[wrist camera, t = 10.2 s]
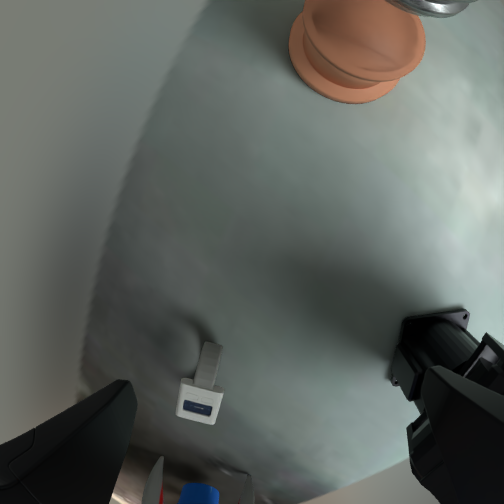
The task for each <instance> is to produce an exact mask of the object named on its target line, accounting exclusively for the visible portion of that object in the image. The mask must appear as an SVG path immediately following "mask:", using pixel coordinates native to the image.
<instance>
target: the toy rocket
mask: <svg viewBox="0 0 504 504" xmlns="http://www.w3.org/2000/svg"><path fill="white" fill-rule="evenodd" d="M163 461H164V456H160V458H159V459H158V461H157V462H156V464H155V465H154V467H153V469H152V471H151V473H150V475H149V477H148V480H147V482H146V485H145V489H144V492H143V497H142V504H165V503H164V497H163ZM218 501H219V492H218V491H217V490H216V489H215V488H213V487H212V486H209V485H206V484H202V483H188V484H185V485H184V486H183V488H182V492H181V495H180V499H179V502H178V503H177V504H218ZM238 504H254V489H253V484H252V479H251V475H247V479H246V482H245V486H244V489H243V492H242V495H241V497H240V500H239V502H238Z"/></svg>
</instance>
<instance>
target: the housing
mask: <svg viewBox="0 0 504 504" xmlns="http://www.w3.org/2000/svg"><path fill="white" fill-rule="evenodd" d="M425 43H426V41H425V33H424V29H423V26H422V23H421V21H420V19H419V17H418V16H417V15H413V14H410V13H407V12H405V11H402V10H400V9H398V8H396V7H394V6H393V5H391V4H389V3H388V2H386V1H385V0H305V3H304V8H303V11H302V12H301V13H300V14H299V15H298V16H297V18H296V20H295V21H294V23H293V25H292V28H291V32H290V37H289V45H288V47H289V55H290V59H291V62H292V64H293V66H294V68H295V70H296V72H297V73H298V75H299V76H300V77H301V79H302V80H303V81H304V82H305V83H306V84H307V85H308V86H309V87H310V88H312V89H313V90H314V91H316V92H317V93H319V94H321V95H322V96H324V97H326V98H329V99H331V100H334V101H337V102H341V103H347V104H362V103H367V102H371V101H373V100H376V99H378V98H380V97H381V96H383V95H385V94H387V93H388V92H389V91H391V90H392V89H393V88H394V87H395V86H396V84H397V83H398V81H399V79H400V78H401V77H403V76H405V75H407V74H408V73H410V72H411V71H413V70H414V69H415V68H416V67H417V66H418V64H419V63H420V61H421V60H422V57H423V55H424V51H425Z"/></svg>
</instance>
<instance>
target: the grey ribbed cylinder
mask: <svg viewBox="0 0 504 504" xmlns="http://www.w3.org/2000/svg"><path fill="white" fill-rule="evenodd" d="M385 1H386V2H388V3H389V4H391V5H393V6H394V7H396V8H398V9H400V10H402V11H405V12H407V13H410V14H413V15H417V16H423V17H436V18H447V17H451V16H454V15H456V14H458V13H459V12H461V11H462V10H464V9H465V8H466V7H467V6H468V5H469V3H472V2H475V1H477V0H385Z"/></svg>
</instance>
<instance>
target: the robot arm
mask: <svg viewBox="0 0 504 504" xmlns="http://www.w3.org/2000/svg"><path fill="white" fill-rule="evenodd" d="M464 315H465V316H464ZM463 316H464V317H463ZM469 316H470V313H469V312H468V311H467V310H466V309H462V310H455V311H448V312H441V313H434V314H426V315H418V316H410V317H406V318H405V319H404V320H403V322H402V326H401V332H400V338H399V343H398V344H397V345H396V349H395V354H394V359H393V364H392V369H391V371H392V377H391V383H392V385H393V386H400V387H401V389H402V391H403V393H404V395H405V397H406V398H407V400H408V401H409V402H410V401H414V403H415V405H416V407H417V408H418V410H419V412H420V414H421V415H420V416H419V417H418V418H417V419H416V420H415V421H414V422H412V423H411V424H410V425H409V426H408V427H407V428H406V429H407V438H408V447H409V457H410V465H411V469H412V473H413V474H414V475H415V477H416V478H417V480H418V481H419V482H420V484H421V485H422V486H424V487H425V488H426V489H427V490H429V491H430V492H431V493H432V494H433V495H434V496H435V498H436V499H437V500H438V501H439V502H440V504H504V345H503V344H501V343H500V342H499V341H497V340H496V339H495V338H493V337H492V336H491V335H489V334H488V333H487V332H486V333H485V335H484V336H483V338H482V341H481V343H479V342H478V341H477V340H476V339H475V338H474V337H473V336H472V335H471V334H470V333H469V332H468V331H467V330H466V329H467V325H468V321H469ZM409 322H410V324H409V325H407V324H408V323H409ZM396 380H397V381H396ZM137 405H138V404H137V398H136V395H135V392H134V389H133V386H132V384H131V382H130V381H128V380H121V379H118V380H115V381H114V382H112V383H111V384H109V385H107V386H106V387H104V388H102V389H101V390H99V391H97V392H95V393H94V394H92V395H90V396H89V397H87V398H85V399H84V400H82V401H80V402H79V403H77V404H75V405H73V406H72V407H70V408H68V409H66V410H65V411H63V412H61V413H60V414H58V415H56V416H54V417H53V418H51V419H49V420H47V421H45V422H44V423H42V424H40V425H38V426H37V427H36V428H33V429H31V430H29V431H28V432H26V433H24V434H22V435H20V436H18V437H16V438H14V439H12V440H10V441H8V442H5V443H3V444H1V445H0V504H109V502H110V499H111V496H112V493H113V490H114V487H115V484H116V481H117V478H118V475H119V472H120V469H121V466H122V463H123V461H124V458H125V455H126V452H127V449H128V446H129V442H130V437H131V433H132V428H133V424H134V419H135V415H136V411H137Z"/></svg>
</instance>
